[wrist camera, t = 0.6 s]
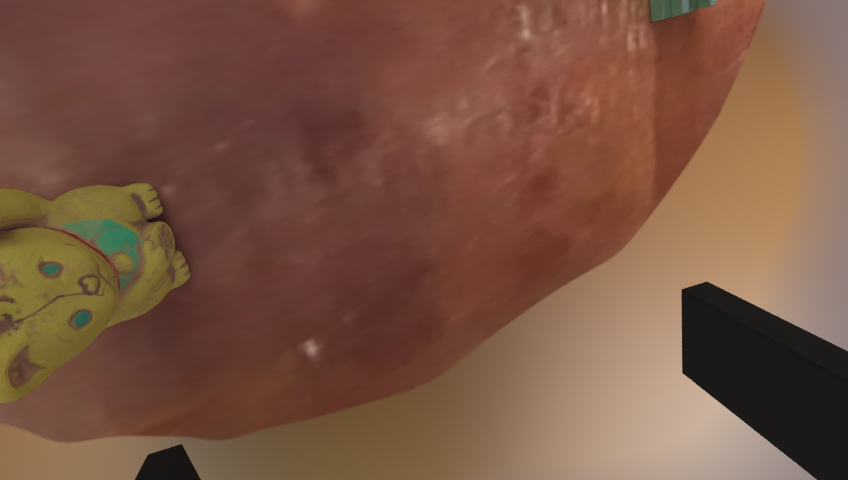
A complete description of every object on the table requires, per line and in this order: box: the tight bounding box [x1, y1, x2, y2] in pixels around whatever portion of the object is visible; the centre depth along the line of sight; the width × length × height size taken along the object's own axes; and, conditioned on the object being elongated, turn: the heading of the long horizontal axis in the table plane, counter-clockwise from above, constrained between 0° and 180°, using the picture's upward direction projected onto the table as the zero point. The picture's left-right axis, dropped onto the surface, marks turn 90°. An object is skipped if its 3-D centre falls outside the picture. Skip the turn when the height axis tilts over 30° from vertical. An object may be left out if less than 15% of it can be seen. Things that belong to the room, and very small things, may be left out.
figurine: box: [0, 183, 190, 403], centre depth 26 cm, size 11×9×15 cm
